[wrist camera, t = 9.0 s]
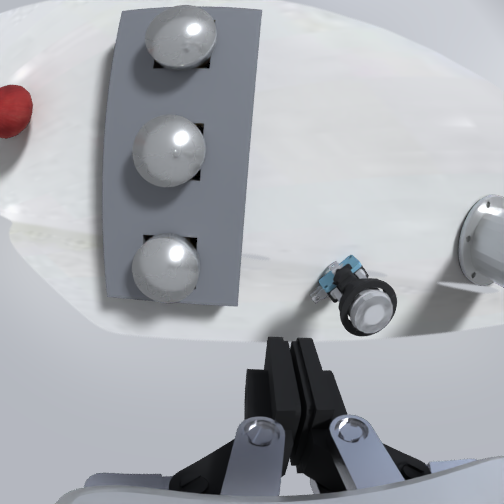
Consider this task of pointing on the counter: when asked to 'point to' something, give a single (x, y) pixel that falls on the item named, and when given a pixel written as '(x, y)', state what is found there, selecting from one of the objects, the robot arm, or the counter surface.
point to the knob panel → (213, 169)
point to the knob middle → (169, 150)
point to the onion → (14, 110)
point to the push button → (357, 297)
